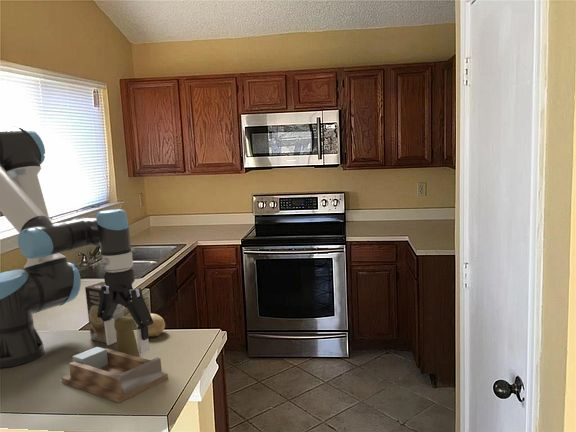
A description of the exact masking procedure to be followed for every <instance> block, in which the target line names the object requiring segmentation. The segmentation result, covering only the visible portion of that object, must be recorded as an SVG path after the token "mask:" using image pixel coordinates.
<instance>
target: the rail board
mask: <svg viewBox="0 0 576 432" xmlns="http://www.w3.org/2000/svg"><path fill="white" fill-rule="evenodd" d="M105 349H107V357H108V365H106V366H104V367H101V368H99V369H98V368H95V367H92V366H89V365H85V364H82V363H79V362H76V361H74V362H73V361H72V362H69V363H68V367H69V368H68V369H69V374H66V375H65V376H62V377H61V382H62V383H63V384H66V385H68V386H72V387H74V388H77V389H80V390H83V391H84V392H88V393H91V394H94V395H96V396H99V397H102V398H105V399H107V400H109V401H113V402H116V403H119V404H120V403H123V402H124V401H126V400H128V399H130V398H132V397H133V396H136V395H138V394H140V393H141V392H143V391H145V390H147V389H150V388H152V387H154V386H155V385H157V384H160V383H162V382H163V381H165V380H168V379H169V377H168V373H167V372H164V371H162V369H163V368H162V361H161V358H160V357H154V358H152V359H151V360H150V359H147V358H144V357H141V356H140V357H137V356H133V355H129V354H126V353H122V352H118V351H117V350H116V349H115V350H113V349H111V348H106V347H105Z"/></svg>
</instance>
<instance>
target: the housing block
mask: <svg viewBox="0 0 576 432" xmlns="http://www.w3.org/2000/svg"><path fill="white" fill-rule="evenodd" d="M107 349H108V348H107ZM107 349H106V348H103V347H99V346H96V347H93V348H90V349H88V350H86V351H83V352H80V353H77V354H75V355H72V362H74V361H76V362H79V363H82V364H85V365H89V366H92V367H95V368H98V369H99V368H101V367H104V366H106V365H108V357H107Z"/></svg>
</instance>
